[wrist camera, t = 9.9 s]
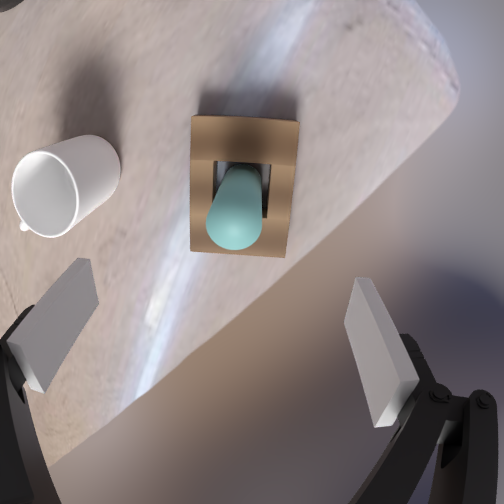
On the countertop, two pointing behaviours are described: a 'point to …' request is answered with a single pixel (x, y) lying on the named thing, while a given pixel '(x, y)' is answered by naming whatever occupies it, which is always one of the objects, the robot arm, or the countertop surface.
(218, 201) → the peg
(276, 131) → the socket
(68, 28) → the countertop surface
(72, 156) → the cup
